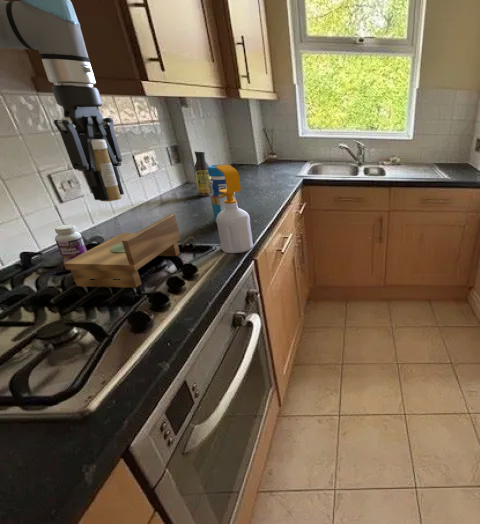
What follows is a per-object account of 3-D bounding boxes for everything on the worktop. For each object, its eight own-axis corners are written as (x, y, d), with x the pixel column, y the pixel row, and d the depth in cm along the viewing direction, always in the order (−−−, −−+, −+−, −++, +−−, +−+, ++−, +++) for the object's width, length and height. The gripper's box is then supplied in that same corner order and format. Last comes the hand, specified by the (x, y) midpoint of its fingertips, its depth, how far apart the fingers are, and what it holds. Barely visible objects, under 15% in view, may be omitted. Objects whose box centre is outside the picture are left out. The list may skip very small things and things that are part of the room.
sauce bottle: (199, 197, 153) (190, 152, 144) (198, 194, 157) (189, 150, 149) (214, 195, 156) (207, 151, 147) (213, 192, 160) (205, 150, 152)
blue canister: (218, 217, 127) (209, 164, 118) (241, 217, 128) (233, 164, 119) (211, 224, 119) (200, 168, 111) (235, 224, 120) (226, 168, 111)
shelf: (72, 286, 78) (53, 239, 73) (128, 252, 96) (115, 212, 91) (141, 287, 78) (127, 240, 73) (184, 253, 96) (174, 214, 91)
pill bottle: (64, 266, 87) (50, 231, 83) (63, 259, 91) (50, 226, 87) (90, 260, 90) (78, 227, 86) (88, 254, 94) (76, 222, 90)
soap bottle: (241, 240, 107) (229, 161, 96) (259, 247, 102) (249, 165, 91) (215, 248, 100) (200, 165, 89) (233, 256, 95) (219, 169, 85)
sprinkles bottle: (94, 200, 77) (73, 139, 72) (114, 196, 81) (96, 138, 75) (107, 203, 76) (87, 141, 70) (127, 198, 80) (109, 139, 74)
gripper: (56, 83, 60) (98, 207, 70) (121, 87, 76) (148, 188, 86) (15, 82, 60) (63, 206, 70) (88, 86, 76) (119, 188, 86)
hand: (109, 196), depth 78 cm, fingers closed on sprinkles bottle, 4 cm apart
